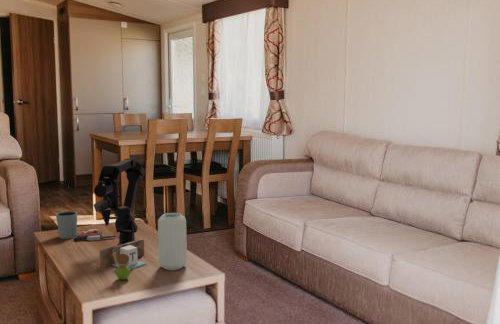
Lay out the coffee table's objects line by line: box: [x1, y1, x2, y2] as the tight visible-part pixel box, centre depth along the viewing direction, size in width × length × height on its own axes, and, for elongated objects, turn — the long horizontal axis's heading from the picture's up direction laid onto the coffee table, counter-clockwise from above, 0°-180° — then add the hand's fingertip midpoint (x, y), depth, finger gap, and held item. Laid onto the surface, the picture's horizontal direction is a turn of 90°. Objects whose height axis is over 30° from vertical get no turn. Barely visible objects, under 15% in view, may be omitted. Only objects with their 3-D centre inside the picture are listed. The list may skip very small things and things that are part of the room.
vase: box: [157, 212, 188, 271], centre depth 209 cm, size 12×12×22 cm
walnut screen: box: [99, 238, 145, 268], centre depth 218 cm, size 22×2×7 cm, turn 141°
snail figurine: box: [112, 249, 131, 281], centre depth 196 cm, size 5×6×12 cm
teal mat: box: [111, 260, 147, 271], centre depth 213 cm, size 10×10×1 cm
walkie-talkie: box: [73, 228, 117, 242], centre depth 252 cm, size 9×4×20 cm
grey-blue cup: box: [55, 210, 78, 240], centre depth 254 cm, size 10×10×12 cm
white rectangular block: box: [120, 245, 139, 266], centre depth 212 cm, size 5×5×7 cm
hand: (113, 227), depth 228 cm, fingers open, 9 cm apart
